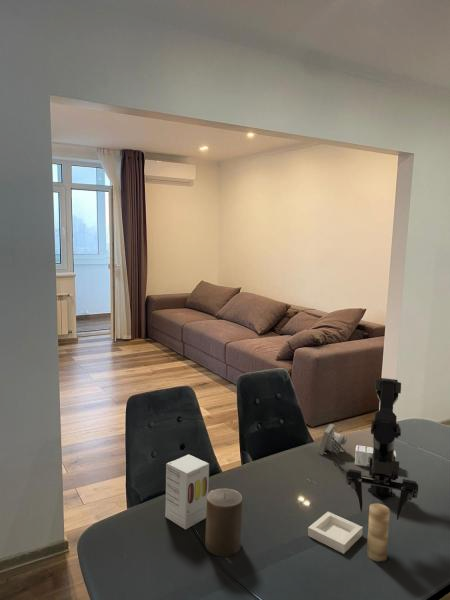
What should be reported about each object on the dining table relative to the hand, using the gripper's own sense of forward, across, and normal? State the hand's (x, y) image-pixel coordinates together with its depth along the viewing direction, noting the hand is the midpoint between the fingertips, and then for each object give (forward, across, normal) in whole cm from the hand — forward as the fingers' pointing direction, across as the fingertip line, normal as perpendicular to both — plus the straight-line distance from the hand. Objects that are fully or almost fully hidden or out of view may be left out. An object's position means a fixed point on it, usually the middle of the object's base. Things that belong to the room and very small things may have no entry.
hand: (379, 515), depth 120 cm
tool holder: (+6, -11, +8) cm, 15 cm away
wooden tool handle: (+9, 0, +5) cm, 10 cm away
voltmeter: (-29, -18, +43) cm, 55 cm away
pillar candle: (+17, -39, -3) cm, 43 cm away
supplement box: (+12, -54, +2) cm, 55 cm away
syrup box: (-33, +4, +42) cm, 53 cm away
